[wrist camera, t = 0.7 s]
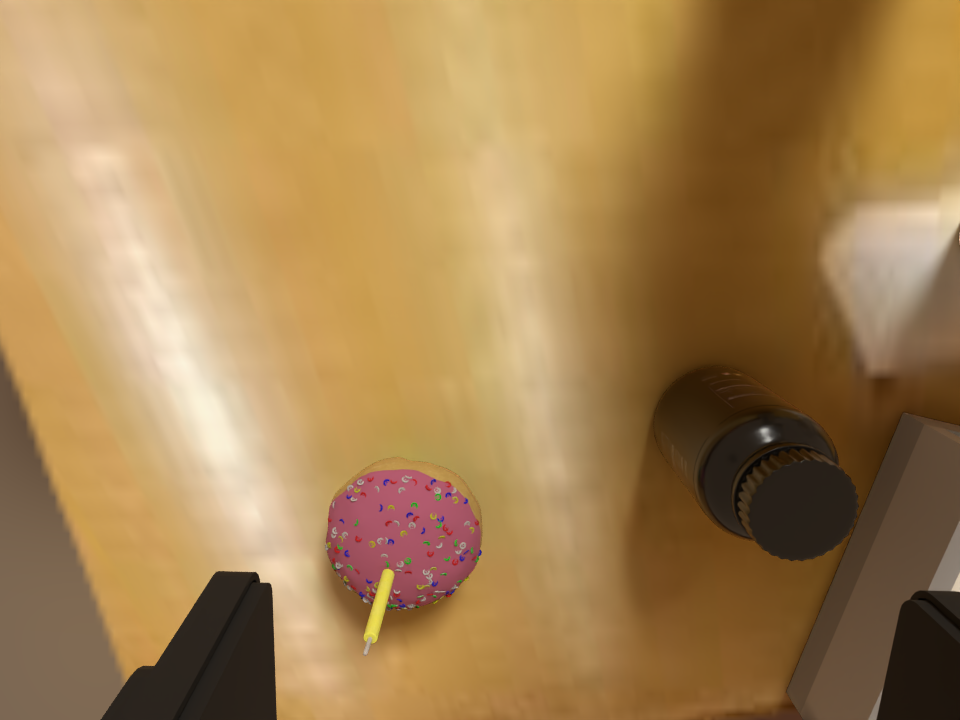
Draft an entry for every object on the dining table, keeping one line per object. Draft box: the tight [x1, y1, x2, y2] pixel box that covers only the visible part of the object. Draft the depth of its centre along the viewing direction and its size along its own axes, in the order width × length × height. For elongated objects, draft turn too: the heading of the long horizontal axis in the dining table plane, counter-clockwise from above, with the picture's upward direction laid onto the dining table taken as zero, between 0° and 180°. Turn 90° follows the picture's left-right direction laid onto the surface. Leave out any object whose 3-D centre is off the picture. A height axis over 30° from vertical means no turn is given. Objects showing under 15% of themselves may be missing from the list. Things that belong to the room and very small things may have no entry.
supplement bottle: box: [654, 366, 859, 561], centre depth 35 cm, size 7×7×12 cm
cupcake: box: [325, 457, 482, 656], centre depth 37 cm, size 9×8×12 cm
